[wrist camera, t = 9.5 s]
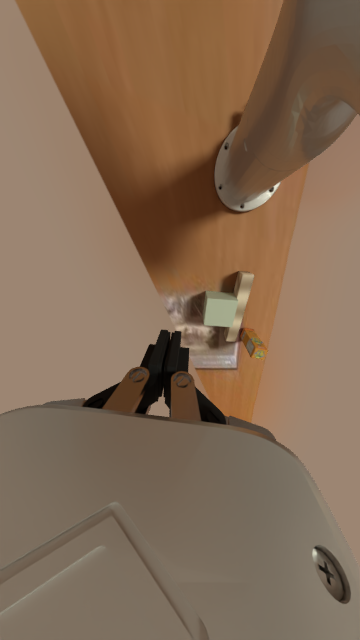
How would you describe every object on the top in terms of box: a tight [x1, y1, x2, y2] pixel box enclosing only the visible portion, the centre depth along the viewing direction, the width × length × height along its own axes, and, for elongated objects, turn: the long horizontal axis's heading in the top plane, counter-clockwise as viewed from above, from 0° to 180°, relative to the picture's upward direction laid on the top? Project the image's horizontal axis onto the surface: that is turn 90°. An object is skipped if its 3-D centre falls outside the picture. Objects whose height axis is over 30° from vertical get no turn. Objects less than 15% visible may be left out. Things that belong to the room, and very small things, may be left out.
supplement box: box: [240, 328, 268, 360], centre depth 40 cm, size 3×3×10 cm
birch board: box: [224, 271, 254, 342], centre depth 39 cm, size 18×2×4 cm, turn 176°
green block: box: [203, 291, 238, 327], centre depth 39 cm, size 7×7×6 cm
